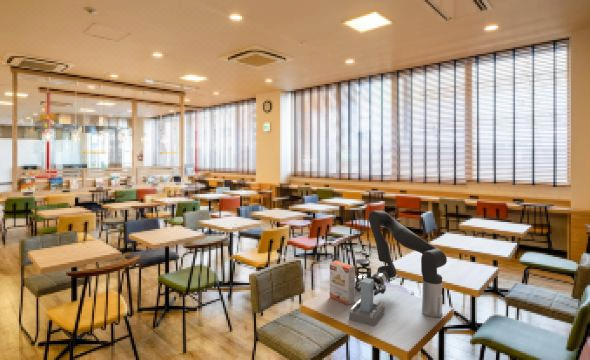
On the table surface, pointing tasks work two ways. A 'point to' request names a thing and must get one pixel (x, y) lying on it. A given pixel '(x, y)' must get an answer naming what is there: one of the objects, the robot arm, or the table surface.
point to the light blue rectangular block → (367, 294)
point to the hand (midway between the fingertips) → (366, 291)
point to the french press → (364, 264)
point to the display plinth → (366, 314)
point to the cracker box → (342, 282)
